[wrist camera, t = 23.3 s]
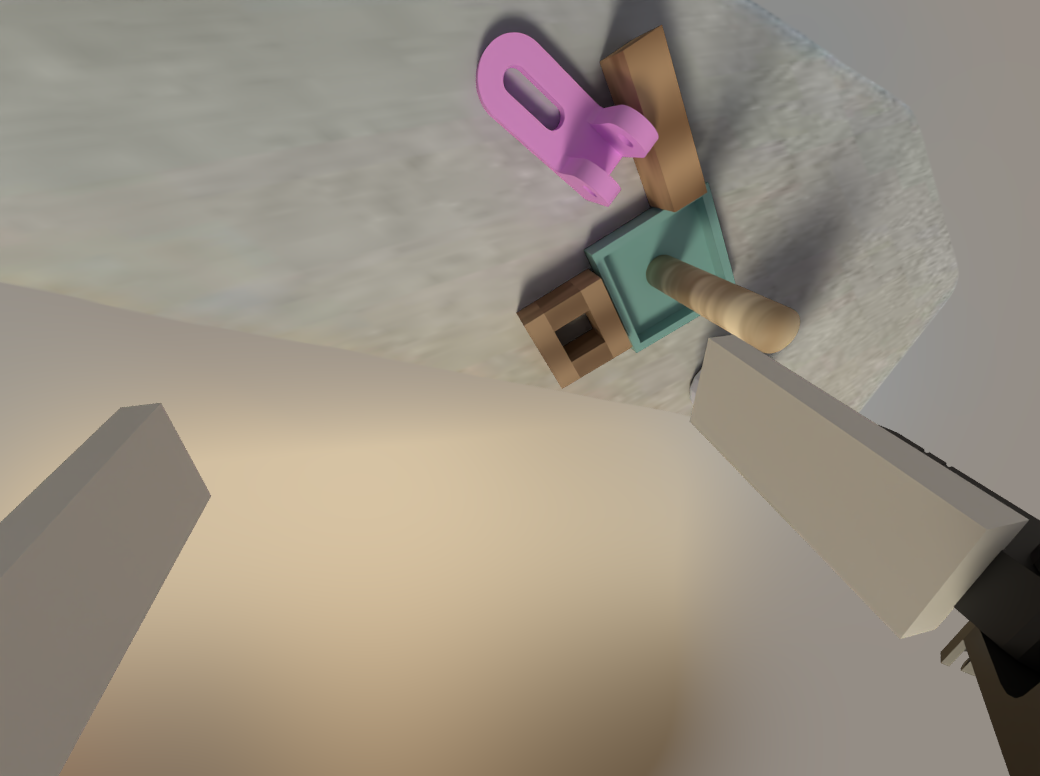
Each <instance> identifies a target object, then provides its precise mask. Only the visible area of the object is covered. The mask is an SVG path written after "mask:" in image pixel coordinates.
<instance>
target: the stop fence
mask: <svg viewBox="0 0 1040 776" xmlns="http://www.w3.org/2000/svg"><path fill="white" fill-rule="evenodd" d="M600 64H601V67H602V70H603V73H604V76H605V79H606V82H607V84H608V87H609V90H610V93H611V96H612V99H613V102H614V104H615V106H617V105H627V106H629V107H631V108H633V109H635V110H636V111H638V112H639V113H640V114H642V115H643V116H644V117H645V118H646V119H647V120H648V121H649V122H650V123H651V124H652V125H653V127H654V128H655V129H656V131H657V133H658V140H657V141H656V143H655V144H654V145H653V147H652V148H651V149H650V151H649V152H648V154H647V155H646V156H645V157H644V158H636V157H633V159H634V161H635V164H636V167H637V170H638V173H639V176H640V179H641V181H642V184H643V187H644V190H645V193H646V196H647V198H648V201H649V204H650V206H652V207H656V208H660V209H664V210H668V211H671V212H677V211H678V210H680V209H681V208H683V207H685V206H686V205H688V204H690V203H691V202H693V201H694V200H696V199H698V198H699V197H701V196H702V195H704V194H706V193H707V189H706V185H705V181H704V178H703V174H702V170H701V167H700V163H699V159H698V155H697V152H696V148H695V144H694V141H693V137H692V133H691V130H690V126H689V122H688V119H687V115H686V111H685V108H684V104H683V100H682V97H681V93H680V89H679V86H678V82H677V78H676V75H675V71H674V67H673V63H672V60H671V56H670V52H669V49H668V45H667V41H666V38H665V34H664V30H663V27H662V25H661V26H659V27H657V28H655V29H653V30H651V31H649V32H647V33H645V34H643V35H641V36H639V37H637V38H635V39H633V40H631V41H630V42H628V43H627V44H625V45H624V46H622V47H621V48H619V49H618V50H616V51H615V52H613V53H612V54H611V55H609V56H608V57H606V58H605V59H603V60H602V61H600Z"/></svg>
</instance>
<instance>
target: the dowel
mask: <svg viewBox="0 0 1040 776" xmlns="http://www.w3.org/2000/svg"><path fill="white" fill-rule="evenodd" d="M646 279H647V282H648V283H649V284H650V285H651V286H653V287H654V288H656V289H658V290H659V291H661V292H663V293H664V294H666V295H668V296H669V297H671V298H673V299H674V300H676V301H678V302H679V303H681V304H683V305H684V306H686V307H688V308H689V309H691V310H693V311H694V312H696V313H698V314H700V315H701V316H703V317H705V318H706V319H708V320H710V321H711V322H713V323H715V324H716V325H718V326H720V327H721V328H723V329H725V330H726V331H728V332H730V333H731V334H733V335H735V336H737V337H738V338H740V339H741V340H743V341H745V342H746V343H748V344H750V345H751V346H753V347H755V348H756V349H758V350H760V351H761V352H764V353H775V352H778V351H780V350H782V349H783V348H785V347H786V346H787V345H789V344H790V343H791V342H792V340H793V339H794V338H795V336H796V334H797V332H798V330H799V326H800V318H799V315H798V313H797V312H796V311H795V310H793V309H791V308H789V307H787V306H784V305H782V304H780V303H778V302H775V301H773V300H771V299H768V298H766V297H764V296H761V295H759V294H757V293H754V292H752V291H750V290H748V289H745V288H743V287H741V286H738V285H736V284H734V283H731V282H729V281H727V280H725V279H722V278H720V277H718V276H715V275H713V274H711V273H708V272H706V271H704V270H702V269H699V268H697V267H695V266H692V265H690V264H688V263H685V262H683V261H681V260H678V259H676V258H674V257H672V256H669V255H659V256H657V257H655V258H654V259H653V260H652V261H651V262H650V263H649V265H648V267H647V270H646Z"/></svg>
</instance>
